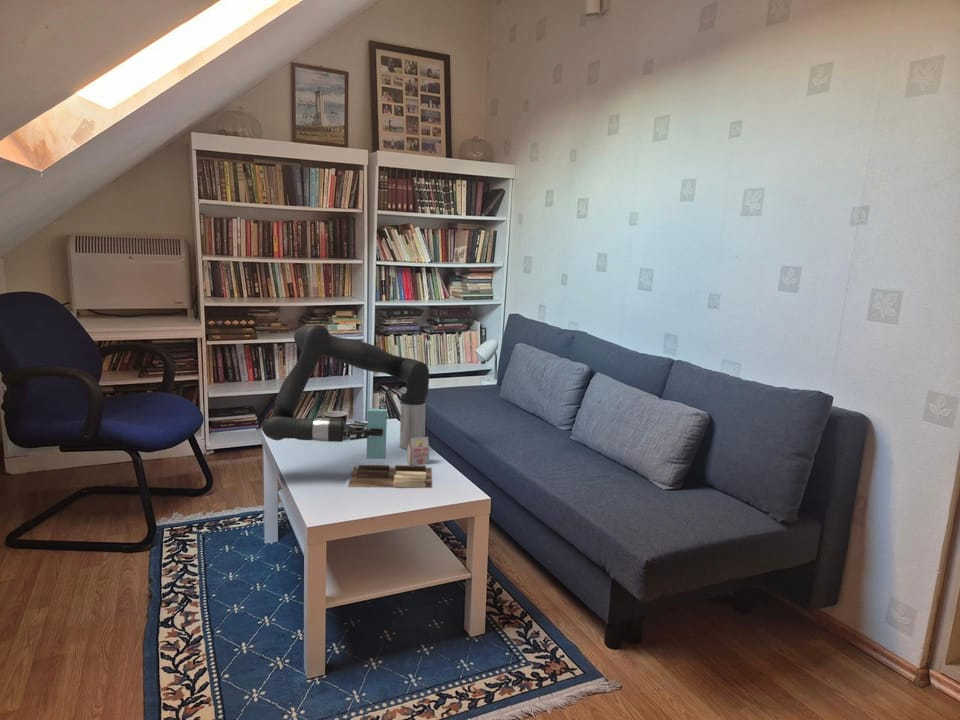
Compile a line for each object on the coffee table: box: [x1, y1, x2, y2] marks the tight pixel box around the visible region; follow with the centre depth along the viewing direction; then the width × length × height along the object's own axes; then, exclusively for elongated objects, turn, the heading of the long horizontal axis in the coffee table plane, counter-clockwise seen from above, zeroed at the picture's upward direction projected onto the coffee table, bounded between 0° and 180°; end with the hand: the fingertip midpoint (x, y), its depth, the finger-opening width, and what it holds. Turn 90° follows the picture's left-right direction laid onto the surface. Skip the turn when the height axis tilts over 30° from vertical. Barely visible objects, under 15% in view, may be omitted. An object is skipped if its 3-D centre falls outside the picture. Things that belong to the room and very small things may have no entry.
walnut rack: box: [347, 464, 433, 489], centre depth 205 cm, size 18×26×3 cm
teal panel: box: [366, 408, 388, 460], centre depth 204 cm, size 2×6×16 cm, turn 95°
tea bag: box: [406, 436, 430, 466], centre depth 219 cm, size 4×7×10 cm, turn 115°
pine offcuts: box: [392, 471, 426, 488], centre depth 199 cm, size 6×10×3 cm, turn 95°
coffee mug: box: [315, 410, 348, 424], centre depth 245 cm, size 12×9×10 cm
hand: (382, 431), depth 204 cm, fingers closed on teal panel, 2 cm apart
